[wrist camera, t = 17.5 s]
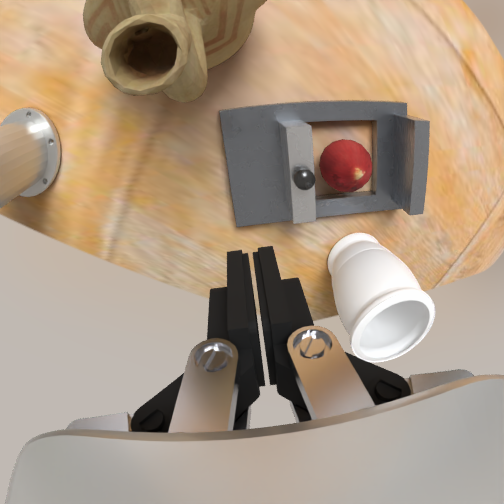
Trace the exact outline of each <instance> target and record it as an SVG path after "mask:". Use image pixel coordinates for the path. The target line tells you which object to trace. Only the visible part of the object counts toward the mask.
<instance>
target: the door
mask: <svg viewBox="0 0 504 504" xmlns="http://www.w3.org/2000/svg"><path fill="white" fill-rule="evenodd" d="M279 127H280V137H281V148H282V159H283V170H284V182H285V194H286V206H287V208H288V211H289V213H290V216H291V218H292V221H293V223H294V224H296V223H304V222H313V221H316V202H315V176H314V158H313V142H312V127H311V125H309V124H307V123H305V122H303V121H301V120H297V121H284V122H279Z"/></svg>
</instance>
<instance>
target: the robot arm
mask: <svg viewBox="0 0 504 504" xmlns="http://www.w3.org/2000/svg"><path fill="white" fill-rule="evenodd" d="M60 157H61V149H60V141H59V136H58V133H57V131H56V128H55V126H54V124H53V123H52V121H51V120H50V119H49V117H48V116H47V115H46V114H44V113H43V112H42V111H40V110H38V109H36V108H30V107H28V108H22V109H18V110H15V111H14V112H12V113H10V114H9V115H8V116H7V117H6V118H5V119H4V121H3V122H2V123H1V125H0V208H2V207H3V206H4V205H6V204H7V203H9V202H10V201H11V200H13V199H14V198H16V197H17V196H18V195H20V196H23V197H32V196H36V195H38V194H40V193H42V192H43V191H45V190H46V189H47V188H48V187H49V186H50V185H51V184H52V182H53V181H54V179H55V177H56V175H57V172H58V169H59V165H60ZM253 259H254V267H255V275H256V283H257V290H258V298H259V306H260V314H261V321H262V327H263V336H264V342H265V350H266V357H267V364H268V372H269V379H270V385H275V384H276V385H277V391H278V393H279V395H281V396H283V397H285V398H286V399H288V400H289V401H290V406H291V408H292V411H293V414H294V417H295V419H296V422H297V423H293V424H287V425H280V426H273V427H264V428H255V429H249V427H250V416H251V404H252V403H253V402H254V401H255V400H256V399H257V398H258V397H259V395H260V390H259V387H260V386H265V380H264V372H263V364H262V356H261V347H260V339H259V331H258V323H257V315H256V307H255V300H254V293H253V286H252V278H251V271H250V264H249V257H248V253H245V254H242V250H238V251H230V252H227V287H223V288H214V289H211V290H210V298H209V316H208V333H207V340H206V341H203V342H201V343H199V344H198V345H196V346H195V347H194V348H193V349H192V351H191V353H190V356H189V358H188V361H187V365H186V368H185V372H184V373H183V374H182V375H181V376H180V377H178V378H177V379H176V380H175V381H173V382H172V383H171V384H170V385H168V386H167V387H166V388H165V389H163V390H162V391H161V392H159V393H158V394H157V395H156V396H154V397H153V398H152V399H150V400H149V401H148V402H146V403H145V404H144V405H143V406H141V407H140V408H139V409H138V410H137V411H136V412H135V413H134V414H130V415H129V414H128V412H124V413H118V414H112V415H105V416H99V417H92V418H83V419H78V420H75V421H73V422H72V423H70V424H69V425H68V427H67V428H66V429H65V430H57V431H53V432H48V433H45V434H41V435H39V436H36V437H34V438H32V439H31V440H29V441H28V442H27V443H26V444H25V446H24V447H23V448H22V450H21V452H20V454H19V456H18V458H17V461H16V463H15V466H14V469H13V472H12V475H11V479H10V483H9V487H8V492H7V497H6V502H5V504H504V375H478V376H474V375H473V374H472V373H470V372H469V371H467V370H461V369H458V370H451V371H443V372H435V373H425V374H415V375H410V377H409V378H403V377H401V376H399V375H398V374H395V373H393V372H391V371H388V370H386V369H384V368H381V367H378V366H376V365H374V364H372V363H369V362H367V361H365V360H362V359H360V358H358V357H356V356H353V355H351V354H348V353H346V352H344V350H343V349H342V347H341V345H340V343H339V342H338V340H337V338H336V337H335V335H334V334H333V333H332V332H331V331H329V330H328V329H326V328H323V327H320V326H314V324H313V320H312V317H311V314H310V311H309V308H308V305H307V302H306V299H305V296H304V293H303V290H302V287H301V284H300V281H299V278H291V279H284V280H281V277H280V273H279V269H278V265H277V262H276V258H275V254H274V250H273V246H268V247H261V248H258V252H253Z"/></svg>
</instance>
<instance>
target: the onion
mask: <svg viewBox="0 0 504 504" xmlns="http://www.w3.org/2000/svg"><path fill="white" fill-rule="evenodd" d="M319 166H320V170H321V174H322V177H323V178H324V180H325V181H326V182H327V184H328V185H329V186H331V187H333V188H334V189H336V190H338V191H340V192H354V191H356V190H358V189H360V188H362V187H363V186H364V185H365V184H366V183H367V182H368V181H369V179H370V177H371V175H372V162H371V157H370V154H369V153H368V152H367V151H366V149H365V148H364V147H363V146H362V145H361V144H359V143H357V142H355V141H352V140H343V139H342V140H338V141H335V142H332V143H331V144H330V145H328V146H327V147H326V148H325V149H324V151H323V153H322V155H321V157H320V165H319Z"/></svg>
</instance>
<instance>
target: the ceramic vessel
mask: <svg viewBox="0 0 504 504" xmlns="http://www.w3.org/2000/svg"><path fill="white" fill-rule="evenodd" d="M266 1H267V0H86V3H85V7H84V12H83V21H84V27H85V30H86V33H87V35H88V37H89V39H90V40H91V41H92V42H93V44H94V45H95V46H97V47H99V48H101V49H102V57H101V65H102V68H103V71H104V74H105V76H106V77H107V78H108V80H109V81H110V82H111V83H112V84H113V85H114V87H116V88H117V89H119V90H120V91H122V92H124V93H127V94H131V95H149V94H156V93H158V92H160V91H163V92H164V93H165V94H166V95H167V96H168V97H169V98H171V99H173V100H175V101H178V102H182V103H185V102H190V101H194V100H196V99H197V98H198V97H200V96H201V95H202V94H203V92H204V90H205V88H206V85H207V79H208V76H207V69H210V68H212V67H215V66H217V65H219V64H221V63H222V62H224V61H226V60H227V59H229V58H230V57H231V56H233V55H234V54H235V53H236V52H237V51H238V50H239V49H240V48H241V47H242V46H243V44H244V43H245V41H246V40H247V38H248V36H249V34H250V31H251V29H252V26H253V22H254V16H255V12H256V10H257V9H258V8H259V7H260V6H261V5H263V4H264V3H265V2H266Z"/></svg>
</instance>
